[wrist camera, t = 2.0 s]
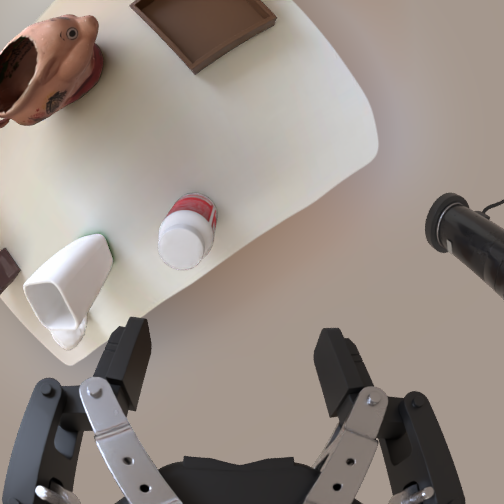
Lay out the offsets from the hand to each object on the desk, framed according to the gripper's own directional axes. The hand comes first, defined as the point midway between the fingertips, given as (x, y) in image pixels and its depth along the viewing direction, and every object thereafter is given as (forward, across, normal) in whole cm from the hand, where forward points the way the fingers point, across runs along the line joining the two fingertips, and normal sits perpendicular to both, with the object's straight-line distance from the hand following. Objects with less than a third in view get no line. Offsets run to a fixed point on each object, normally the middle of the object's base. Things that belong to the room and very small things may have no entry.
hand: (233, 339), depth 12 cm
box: (+26, +46, +15) cm, 55 cm away
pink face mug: (+26, +26, -17) cm, 40 cm away
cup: (+26, +21, +10) cm, 35 cm away
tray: (+26, +7, -25) cm, 37 cm away
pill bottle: (+26, +5, +3) cm, 27 cm away
